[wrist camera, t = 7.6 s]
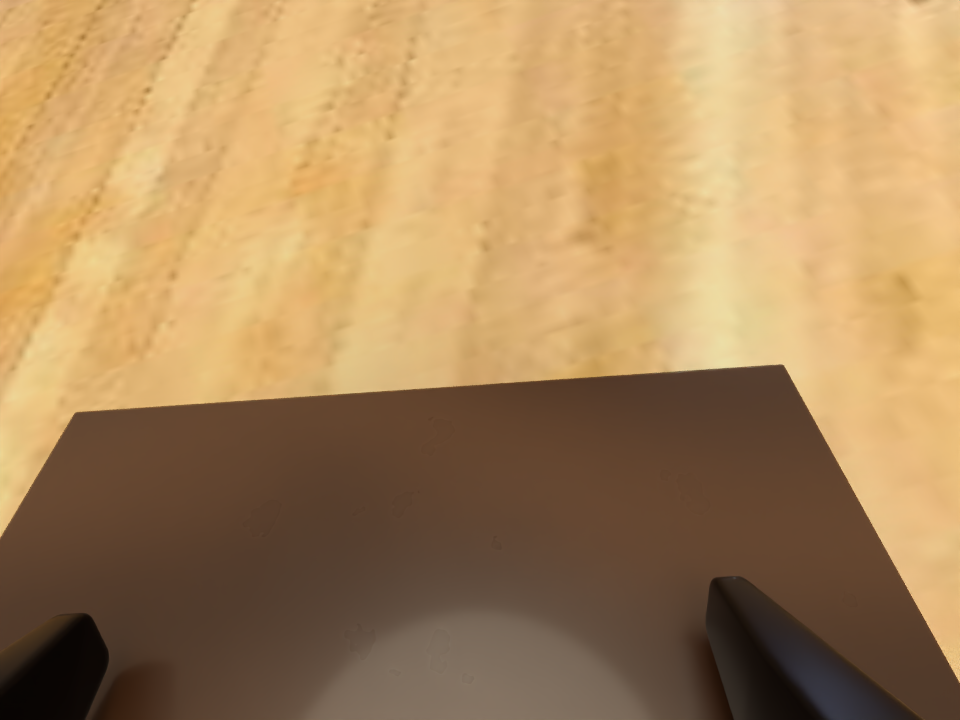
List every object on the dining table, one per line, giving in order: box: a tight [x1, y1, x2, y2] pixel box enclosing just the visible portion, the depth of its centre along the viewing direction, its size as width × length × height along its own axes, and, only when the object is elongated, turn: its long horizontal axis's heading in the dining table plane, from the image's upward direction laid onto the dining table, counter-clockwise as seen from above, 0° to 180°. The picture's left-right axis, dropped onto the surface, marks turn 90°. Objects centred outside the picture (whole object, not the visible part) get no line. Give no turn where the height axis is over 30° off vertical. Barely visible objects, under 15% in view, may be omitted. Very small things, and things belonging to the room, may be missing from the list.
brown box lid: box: [0, 365, 960, 720], centre depth 7 cm, size 10×16×5 cm
